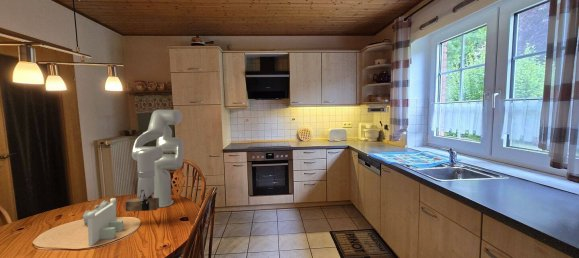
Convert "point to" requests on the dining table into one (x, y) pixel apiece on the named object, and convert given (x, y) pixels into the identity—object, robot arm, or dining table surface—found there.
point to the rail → (137, 206)
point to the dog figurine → (101, 206)
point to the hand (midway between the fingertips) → (147, 208)
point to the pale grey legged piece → (103, 223)
